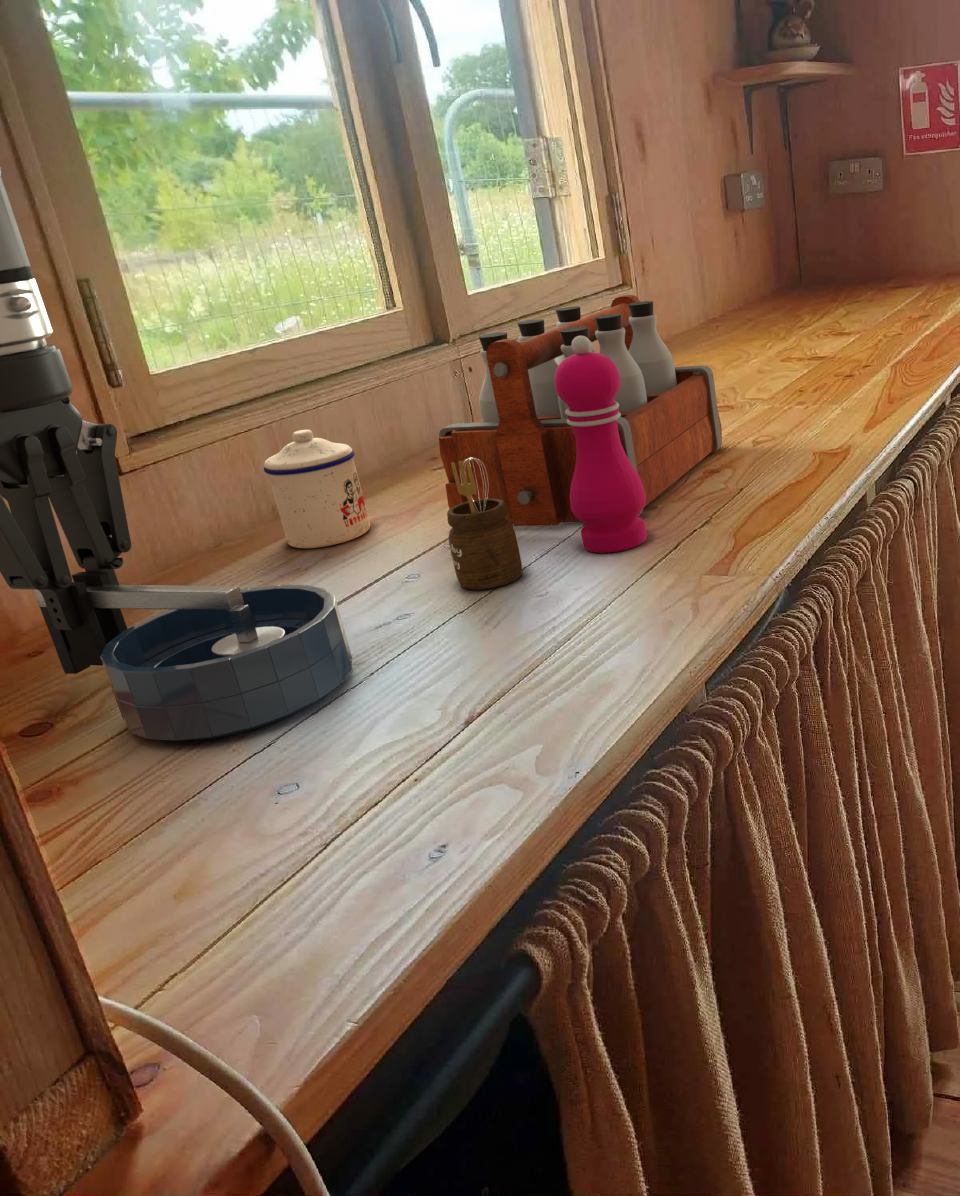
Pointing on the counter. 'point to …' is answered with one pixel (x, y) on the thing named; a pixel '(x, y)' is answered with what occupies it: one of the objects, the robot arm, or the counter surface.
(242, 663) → the bowl
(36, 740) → the counter surface
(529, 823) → the counter surface
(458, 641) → the counter surface
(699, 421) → the milk bottle holder
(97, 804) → the counter surface
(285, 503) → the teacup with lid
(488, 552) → the utensil holder
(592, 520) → the pepper mill
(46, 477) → the robot arm
